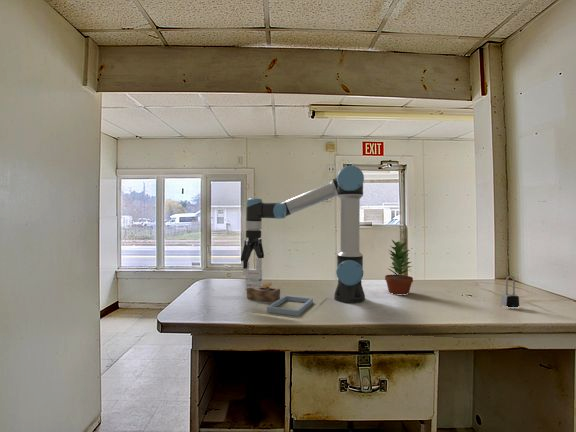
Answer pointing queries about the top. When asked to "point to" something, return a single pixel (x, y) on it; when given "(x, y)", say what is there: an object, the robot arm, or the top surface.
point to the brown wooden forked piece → (263, 294)
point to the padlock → (510, 296)
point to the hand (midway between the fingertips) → (252, 273)
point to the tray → (275, 309)
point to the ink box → (254, 278)
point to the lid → (265, 289)
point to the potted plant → (399, 271)
